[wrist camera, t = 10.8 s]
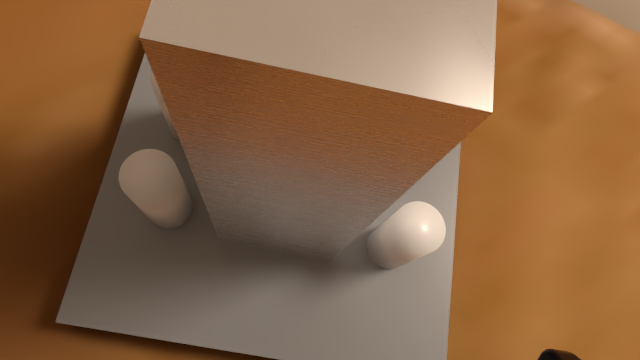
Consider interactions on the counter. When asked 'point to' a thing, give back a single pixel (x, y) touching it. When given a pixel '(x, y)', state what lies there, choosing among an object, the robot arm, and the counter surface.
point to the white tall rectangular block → (317, 106)
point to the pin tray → (255, 263)
